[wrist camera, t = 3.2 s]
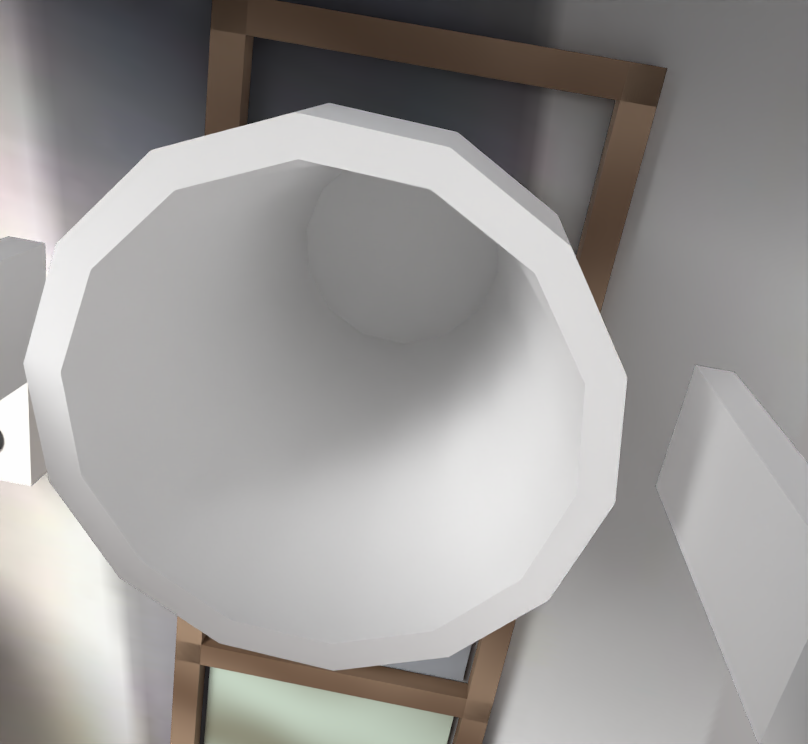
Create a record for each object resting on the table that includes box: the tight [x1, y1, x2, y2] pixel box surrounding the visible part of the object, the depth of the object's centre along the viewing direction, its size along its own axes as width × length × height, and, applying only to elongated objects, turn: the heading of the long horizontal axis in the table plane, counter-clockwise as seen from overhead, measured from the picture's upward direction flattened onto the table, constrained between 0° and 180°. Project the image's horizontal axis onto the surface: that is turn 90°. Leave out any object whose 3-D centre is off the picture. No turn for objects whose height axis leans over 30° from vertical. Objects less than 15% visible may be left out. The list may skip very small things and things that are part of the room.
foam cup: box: [23, 103, 627, 671], centre depth 18 cm, size 10×9×13 cm
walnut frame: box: [170, 0, 667, 744], centre depth 28 cm, size 36×12×1 cm, turn 171°
